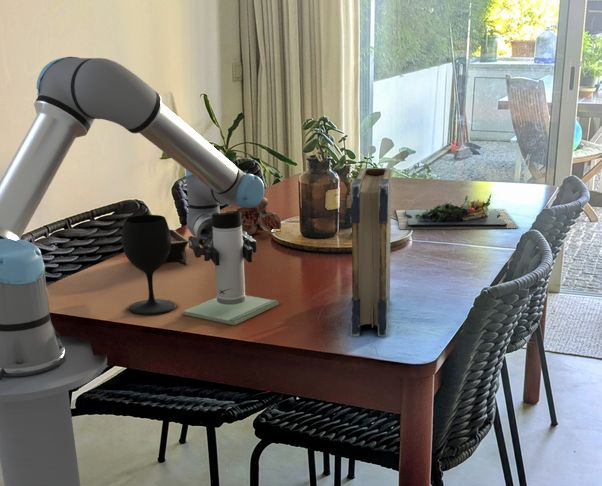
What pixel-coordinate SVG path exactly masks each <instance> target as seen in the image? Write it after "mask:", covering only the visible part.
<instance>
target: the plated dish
mask: <svg viewBox="0 0 602 486" xmlns="http://www.w3.org/2000/svg"><path fill="white" fill-rule="evenodd" d="M491 198H492V193H490V195H489V196H488V198H487V200H486V202H485V201H484V199H483V200H479V199H477V200H475V199H474V200H468V194H467V195H466V196H465V199H464V202H463V203H461V204H459V206H458V205H454V204H452V202H449V203H448V202H445V203H443V204H436V205H433V207H432V208H430V207H428V208H426V209H395V213H396V217H397V221H398V226H399V230H452V229H453V230H454V229H455V230H457V229H458V230H459V229H460V230H461V229H462V230H463V229H470V230H471V229H473V230H475V229H518V227H517V225H516V224H515V223H514V222H513V220H512V219H511V218H510V217H509V215H508V214H507V212H506V211H505V210H504V209H501V208H499V209H495V208H494V209H491V208H490V209H489V206H490V205H491Z"/></svg>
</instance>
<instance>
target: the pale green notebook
mask: <svg viewBox="0 0 602 486" xmlns="http://www.w3.org/2000/svg"><path fill="white" fill-rule="evenodd" d="M279 302H280V301H279V300H278V299H268V298H262V297H258V296H252V295H248V294H247V295H246V294H245V301H244V302H242V303H239V304H234V305H225V304H221V303H219V302H217V296H216V297H214V298H211V299H209V300H207V301H204V302H202V303H199V304H197V305H195V306H192V307H190V308H187V309H185V310H183V311H182V312H183V314H182V315H184V316H188V317H193V318H197V319H203V320H207V321H211V322H218V323H222V324H228V325H230V326H231V325H232V326H236V325H239V324H240V323H242V322H245V321H247V320H250V319H251V318H253V317H255V316H258V315H260V314H262V313H264V312H266V311H269V310H270V309H272V308H275V307H277V306H279V305H280V304H279Z"/></svg>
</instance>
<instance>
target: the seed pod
mask: <svg viewBox="0 0 602 486" xmlns="http://www.w3.org/2000/svg"><path fill="white" fill-rule="evenodd" d="M268 205H269V201H268V198H266V197H264V196H263V198H262V200H261V202H260V203H259V205H257V206H256V207H253V208H246V207H244V208H241V207H238V208H237V209H236V211H240V212H241V222H242V232H247V235H249V236H250V237H251V236H252V235H254V234H255V233H257V232H258V231H260V232H263V231H264V232H266V233H268V234H275V233H276V234H277V233H282V231H281V228H282V222H281V218H280V217H279V215H278V214H277V213H275V212H273V211H267V210H268V207H269V206H268ZM272 229H280V231H276V232H271V230H272Z"/></svg>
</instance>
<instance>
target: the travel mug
mask: <svg viewBox="0 0 602 486" xmlns="http://www.w3.org/2000/svg"><path fill="white" fill-rule="evenodd" d="M212 222H213V223H212V224H213V226H212V228H213V245H214V248H215V249H216V250H217V251H218V252H219V263H220V265H219V266H216V265H215V264H214V276H215V291H216V292H215V293H216V297H217V302H219V303H221V304H225V305H234V304H239V303H242V302H244V301H245V295H246V283H245V281H246V280H245V261H244V260H245V258H244V257H243V237H242V222H241V212H240V211H237V210H228V211H225V212H220V213H213V214H212Z"/></svg>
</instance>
